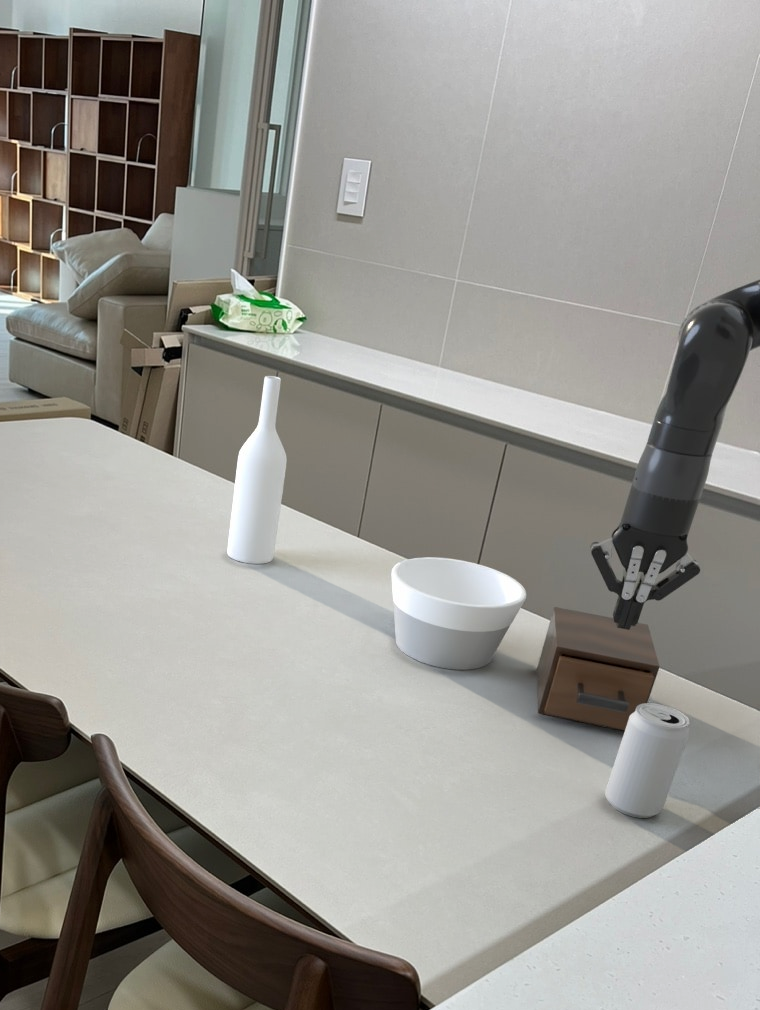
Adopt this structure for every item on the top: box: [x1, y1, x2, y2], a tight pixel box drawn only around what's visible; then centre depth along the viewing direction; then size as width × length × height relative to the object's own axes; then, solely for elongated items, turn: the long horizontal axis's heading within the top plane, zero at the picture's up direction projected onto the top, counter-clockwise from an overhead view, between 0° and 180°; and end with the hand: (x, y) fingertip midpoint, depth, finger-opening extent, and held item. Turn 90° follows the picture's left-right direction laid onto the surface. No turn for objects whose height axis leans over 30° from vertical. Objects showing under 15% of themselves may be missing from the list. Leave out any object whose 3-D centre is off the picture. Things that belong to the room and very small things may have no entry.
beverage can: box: [604, 702, 690, 819], centre depth 119 cm, size 6×6×12 cm
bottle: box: [226, 375, 288, 565], centre depth 176 cm, size 8×8×30 cm
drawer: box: [544, 654, 654, 730], centre depth 139 cm, size 18×12×8 cm, turn 166°
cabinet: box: [536, 606, 660, 732], centre depth 143 cm, size 15×13×10 cm
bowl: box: [391, 556, 527, 671], centre depth 153 cm, size 19×19×11 cm
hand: (622, 626), depth 129 cm, fingers closed
